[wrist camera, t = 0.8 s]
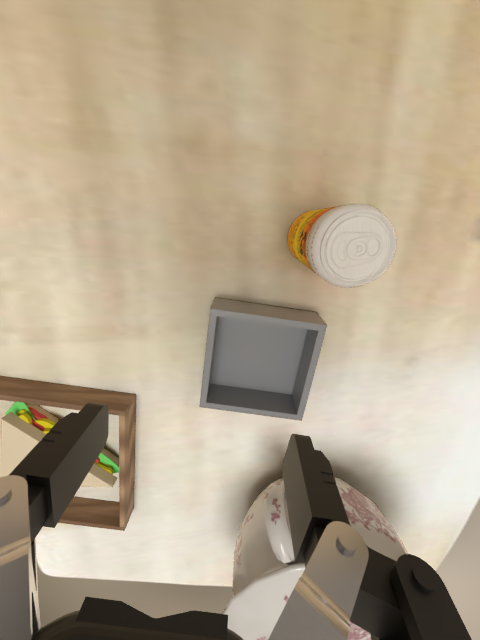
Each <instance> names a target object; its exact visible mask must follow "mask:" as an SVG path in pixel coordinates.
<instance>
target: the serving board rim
mask: <svg viewBox="0 0 480 640" xmlns="http://www.w3.org/2000/svg"><path fill="white" fill-rule="evenodd" d="M0 400H7V401H14V402H22V403H30V404H37V405H45V406H52V407H60V408H67V409H75V410H81V409H82V408H83V407H84V406H85V405H86V404H87V403H88V402H93V403H99V404H106V405H108V414H112V415H119V487H120V502H112V501H104V500H96V499H88V498H80V497H73V498H72V500H71V502H70V503H69V505H68V507H67V508H66V510H65V511H64V513H63V515H62V516H61V518H60V520H59V521H58V523H66V524H74V525H82V526H90V527H99V528H107V529H115V530H123V531H125V528H126V526H127V523H128V521H129V518H130V516H131V513H132V510H133V508H134V469H135V418H136V394H130V393H122V392H115V391H108V390H100V389H93V388H85V387H78V386H71V385H63V384H56V383H48V382H41V381H33V380H26V379H19V378H11V377H4V376H0Z"/></svg>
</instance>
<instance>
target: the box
mask: <svg viewBox="0 0 480 640" xmlns="http://www.w3.org/2000/svg"><path fill="white" fill-rule="evenodd" d="M326 327H327V325H326V323H325V322H324V321H323V319H322V318H321V317H320V316H319V314H318V313H317V312H313V311H306V310H299V309H292V308H285V307H278V306H271V305H264V304H257V303H251V302H244V301H237V300H230V299H223V298H216V297H215V299H214V301H213V304H212V306H211V309H210V318H209V327H208V335H207V344H206V353H205V362H204V371H203V380H202V389H201V398H200V407H204V408H212V409H219V410H226V411H234V412H241V413H249V414H256V415H264V416H271V417H279V418H286V419H293V420H301V421H302V418H303V414H304V410H305V406H306V403H307V399H308V395H309V391H310V388H311V384H312V380H313V376H314V373H315V369H316V365H317V361H318V358H319V354H320V350H321V346H322V342H323V339H324V335H325V331H326Z"/></svg>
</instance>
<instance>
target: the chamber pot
mask: <svg viewBox="0 0 480 640" xmlns="http://www.w3.org/2000/svg"><path fill="white" fill-rule="evenodd" d="M334 478H335V481H336V485H337V487H338V490H339V493H340V496H341V499H342V502H343V505H344V508H345V511H346V514H347V517H348V520H349V523H350V525H351V527H353V528H354V529H355V530H356V531H357V532H358V533H359V534H360V535H361V536H362V538H363V539H364V541H365V543H366V545H367V546H368V547H370V548H371V549H373V550H375V551H377V552H379V553H381V554H383V555H385V556H387V557H389V558H391V559H393V560H395V561H397V560H398V558H399V557H400V556H401V555H403V554H408V553H407V551H406V549H405V547H404V545H403V543H402V541H401V540H400V538H399V537H398V536H397V534H396V533H395V531H394V530H393V528H392V527H391V525H390V524H389V523H388V521H387V520H386V518H385V517H384V516H383V514H382V513H381V511H380V510H379V508H378V507H377V506H376V504H375V503H374V502H373V501H371V500H370V499H369V498H367V497H366V496H364V495H363V494H362V493H360V492H359V491H357V490H356V489H355V488H353V487H352V486H350V485H349V484H347V483H346V482H344V481H343V480H341V479H340V478H336V477H334ZM304 570H305V563H301V562H295V559H294V552H293V545H292V538H291V530H290V523H289V516H288V509H287V502H286V494H285V487H284V480H283V477H282V478H280V479H278V480H276V481H274V482H272V483H271V484H270V485H269V486H268V487H267V488H265V489H264V490H263V491H262V492H261V493H260V494H259V495H258V497H257V498H256V500H255V501H254V503H253V504H252V506H251V507H250V509H249V510H248V512H247V514H246V516H245V518H244V520H243V521H242V523H241V525H240V528H239V533H238V537H237V542H236V546H235V551H234V568H233V593H234V596H233V597H232V598H231V599H230V601H229V603H228V604H227V606H226V608H225V609H224V611H223V612H222V614H225V615H228V629H230V630H232V631H234V632H235V633H236V634H238V635H239V636H240V637H242V638H243V639H244V640H268V639H269V637H270V635H271V633H272V631H273V629H274V627H275V625H276V623H277V621H278V619H279V617H280V615H281V613H282V611H283V609H284V607H285V605H286V603H287V601H288V599H289V597H290V595H291V593H292V591H293V589H294V587H295V585H296V583H297V582H298V580H299V578H301V576H302V574H303V572H304ZM349 625H350V631H349V635H348V638H347V640H372V639H371V635H370V633H369V632H367V631H366V630H364V629H362V628H360V627H359V626H357V625H355V624H353V623H352V622H350V621H349Z"/></svg>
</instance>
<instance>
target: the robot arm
mask: <svg viewBox="0 0 480 640" xmlns="http://www.w3.org/2000/svg"><path fill="white" fill-rule="evenodd" d="M107 438H108V405H106V404H99V403H93V402H88V403H87V404H86V405H85V406H84V407H83V408H82V409H81V411H80V412H79V413H70V414H69V415H67V416H65V417H64V418H62V419H60V420H59V421H58V422H57V423H56V424H55V425H54V426H53V427H52V428H51V430H50V431H49V433H47V434H46V435H45V436H44V437H43V438H42V440H41V441H39V443H38V444H37V445H36V446H35V447H34V448H33V449H32V450H31V451H30V452H29V453H28V455H27V456H26V457H25V458H24V459H23V460H22V461H21V462H20V463H19V464H18V465H17V467H16V468H15V469H14V470H13V471H12V472H11V473H10V474H9V475H8V476H4V477H0V640H244V639H243V638H242V637H240V636H239V635H238V634H236V633H235V632H234V631H232V630H230V629H228V615H225V614H217V613H209V612H202V611H189V612H185V613H180V614H176V615H171V616H167V617H162V618H157V619H155V618H152V617H150V616H148V615H146V614H144V613H142V612H140V611H138V610H136V609H135V608H133V607H131V606H129V605H127V604H125V603H123V602H122V601H114V600H107V599H99V598H91V597H85V600H84V602H83V604H82V607H81V609H80V610H79V611H75V612H72V613H69V614H66V615H64V616H62V617H60V618H58V619H56V620H54V621H52V622H50V623H49V624H47V625H45V626H44V627H42V628H41V626H40V613H39V602H38V586H37V565H36V545H35V537H36V536H37V534H38V533H39V531H40V530H41V528H42V527H43V526H45V527H52V528H55V526H56V524H57V523H58V521H59V520H60V518H61V516H62V515H63V513H64V511H65V510H66V508H67V507H68V505H69V503H70V502H71V500H72V498H73V497H74V495H75V494H76V492H77V490H78V489H79V487H80V485H81V484H82V482H83V481H84V479H85V477H86V476H87V474H88V472H89V471H90V469H91V468H92V466H93V464H94V463H95V461H96V459H97V458H98V456H99V455H100V453H101V451H102V450H103V448H104V446H105V444H106V441H107ZM283 480H284V487H285V494H286V502H287V509H288V516H289V523H290V530H291V538H292V545H293V552H294V559H295V562H301V563H305V570H304V572H303V574H302V576H301V578H299V580H298V582H297V583H296V585H295V587H294V589H293V591H292V593H291V595H290V597H289V599H288V601H287V603H286V605H285V607H284V609H283V611H282V613H281V615H280V617H279V619H278V621H277V623H276V625H275V627H274V629H273V631H272V633H271V635H270V637H269V639H268V640H347V638H348V635H349V631H350V625H349V621H350V622H352V623H353V624H355V625H357V626H359V627H360V628H362V629H364V630H366V631H367V632H369V633H370V635H371V639H372V640H471V637H470V635H469V634H468V631H467V629H466V627H465V625H464V623H463V621H462V619H461V617H460V615H459V613H458V611H457V609H456V607H455V605H454V603H453V601H452V599H451V597H450V595H449V593H448V591H447V589H446V587H445V585H444V583H443V581H442V580H441V578H440V577H439V575H438V574H437V573H436V571H435V570H434V569H433V568H432V567H431V566H430V565H428V564H427V563H426V562H425V561H423V560H422V559H420V558H418V557H416V556H414V555H411V554H403V555H401V556H400V557H399V558H398V560H397V561H395V560H393V559H391V558H389V557H387V556H385V555H383V554H381V553H379V552H377V551H375V550H373V549H371V548H370V547H368V546H367V545H366V543H365V541H364V539H363V538H362V536H361V535H360V534H359V533H358V532H357V531H356V530H355V529H354V528H353V527H351V525H350V523H349V520H348V517H347V514H346V511H345V508H344V505H343V502H342V499H341V496H340V493H339V490H338V487H337V485H336V481H335V478H334V476H333V472H332V469H331V466H330V463H329V461H328V460H327V458H326V457H325V456H324V454H323V453H322V452H321V451H318V450H314V448H313V444H312V441H311V438H310V437H309V436H304V435H297V434H292V435H291V437H290V441H289V444H288V447H287V451H286V454H285V457H284V461H283Z"/></svg>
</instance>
